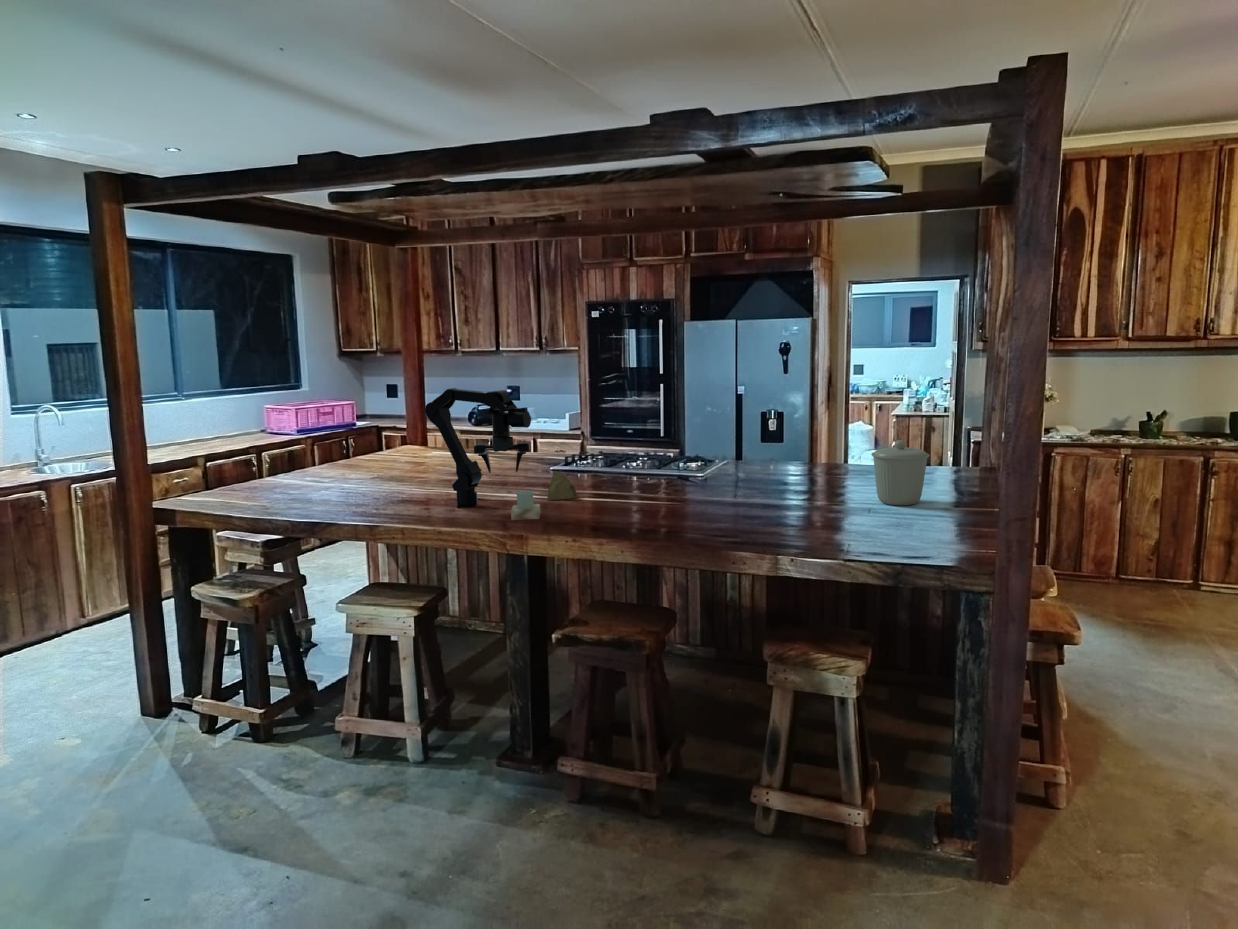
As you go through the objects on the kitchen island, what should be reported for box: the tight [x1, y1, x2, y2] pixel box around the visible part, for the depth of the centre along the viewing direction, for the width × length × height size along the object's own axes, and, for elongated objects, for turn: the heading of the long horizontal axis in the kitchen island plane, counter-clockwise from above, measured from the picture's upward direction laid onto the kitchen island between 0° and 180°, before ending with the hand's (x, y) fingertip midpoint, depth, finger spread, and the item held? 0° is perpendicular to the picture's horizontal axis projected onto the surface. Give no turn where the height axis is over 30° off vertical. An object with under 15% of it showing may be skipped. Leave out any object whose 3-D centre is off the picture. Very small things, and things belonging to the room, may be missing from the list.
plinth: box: [510, 503, 541, 521], centre depth 266 cm, size 9×9×3 cm
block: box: [516, 490, 535, 509], centre depth 266 cm, size 5×5×5 cm
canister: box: [870, 439, 930, 507], centre depth 268 cm, size 18×18×21 cm
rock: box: [546, 471, 579, 501], centre depth 293 cm, size 11×9×10 cm
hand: (503, 472), depth 279 cm, fingers open, 9 cm apart
